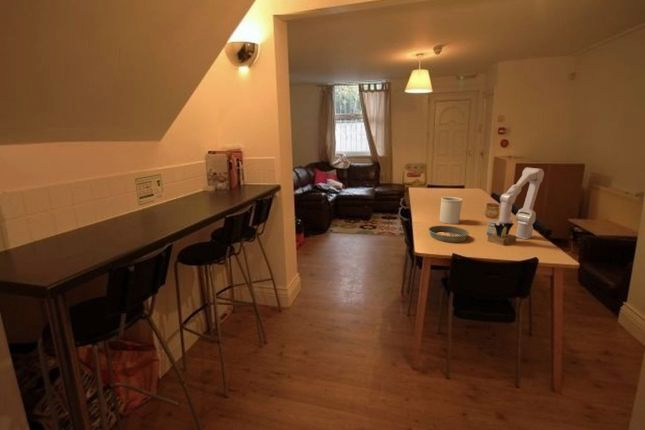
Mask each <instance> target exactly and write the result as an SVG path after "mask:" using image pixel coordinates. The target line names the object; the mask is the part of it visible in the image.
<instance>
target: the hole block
mask: <svg viewBox="0 0 645 430" xmlns="http://www.w3.org/2000/svg"><path fill="white" fill-rule="evenodd" d="M514 235H515V234H510V233H508V234H506V235H505V237H501V236H497V233H496V234H492V235H487V242H489V243H494V244H496V245H500V246H505V245H508V244H509V245H510V244H513V243H516V242H517V238H518V237H517V236H514Z"/></svg>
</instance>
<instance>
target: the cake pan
mask: <svg viewBox="0 0 645 430" xmlns="http://www.w3.org/2000/svg"><path fill="white" fill-rule="evenodd" d="M427 230H428V232H429V235H430V237H431V239H434V240H437V241H440V240H441V242H448V243H461V242H465V241H466V239H467V236H469V234H470V232H469V231H468V230H467V229H464V228H461V227H459V226H458V227H457V226H452V225H434V226H433V225H432V226H430V227H428V228H427ZM435 232H436V233H435ZM438 232H444V233H449V234H450V236H447V235H441V234H440V233H438ZM457 234H458V235H459V236H458V235H457ZM452 235H453V236H452ZM455 235H457V236H455Z"/></svg>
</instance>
